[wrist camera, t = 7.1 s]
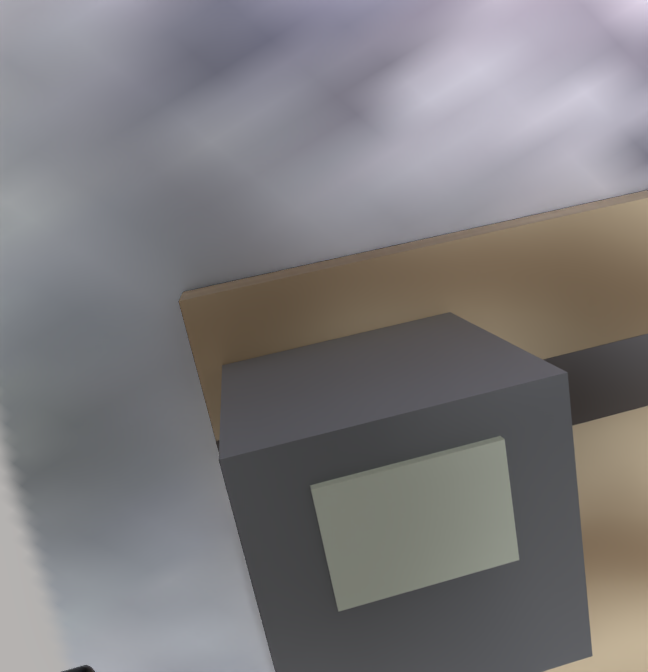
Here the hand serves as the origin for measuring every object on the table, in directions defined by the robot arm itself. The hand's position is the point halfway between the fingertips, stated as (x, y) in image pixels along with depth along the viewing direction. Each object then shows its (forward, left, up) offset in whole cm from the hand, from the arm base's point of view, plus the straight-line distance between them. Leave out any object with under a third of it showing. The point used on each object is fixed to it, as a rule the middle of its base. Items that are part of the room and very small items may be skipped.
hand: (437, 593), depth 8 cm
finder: (0, 0, -5) cm, 5 cm away
